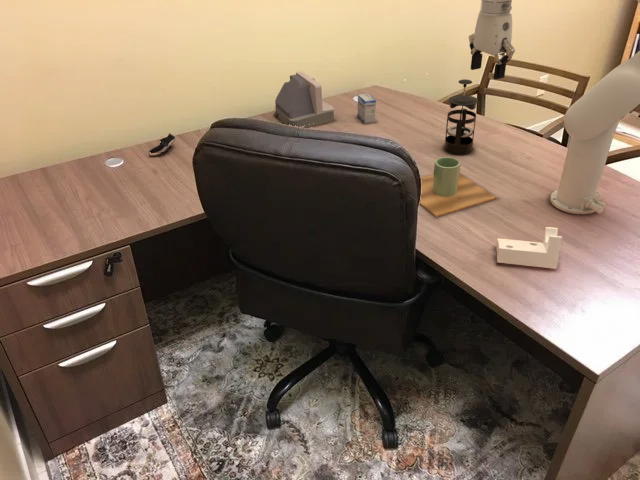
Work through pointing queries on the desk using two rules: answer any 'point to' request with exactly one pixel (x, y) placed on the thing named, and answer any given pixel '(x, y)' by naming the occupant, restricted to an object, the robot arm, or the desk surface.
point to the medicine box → (366, 108)
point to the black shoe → (163, 145)
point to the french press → (461, 124)
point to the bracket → (531, 250)
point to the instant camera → (302, 102)
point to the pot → (446, 176)
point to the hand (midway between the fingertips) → (486, 73)
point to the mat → (462, 199)
